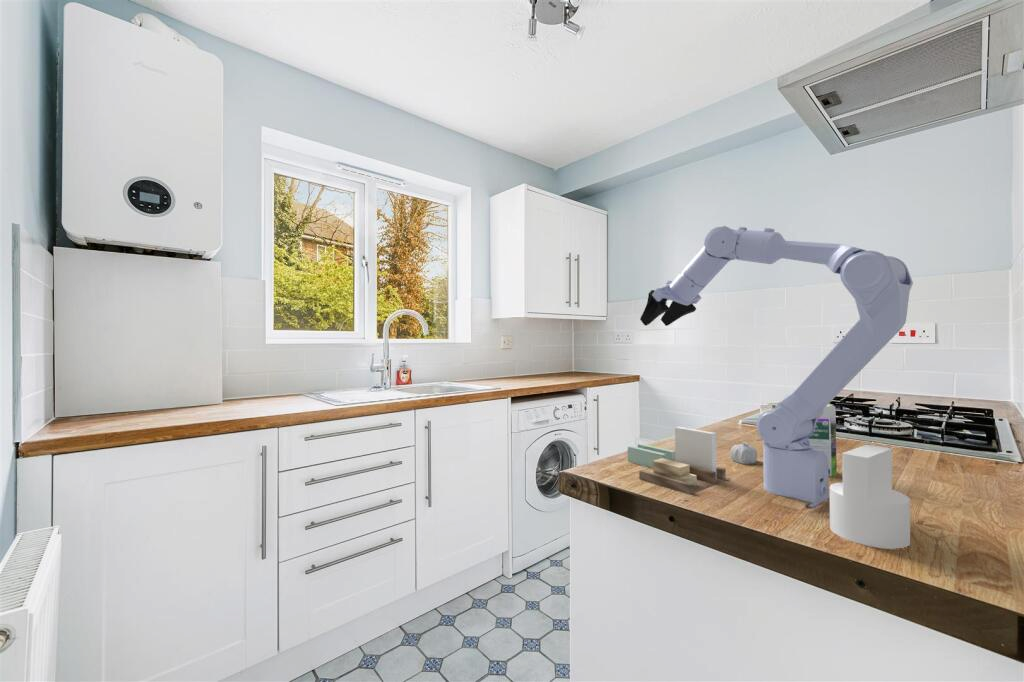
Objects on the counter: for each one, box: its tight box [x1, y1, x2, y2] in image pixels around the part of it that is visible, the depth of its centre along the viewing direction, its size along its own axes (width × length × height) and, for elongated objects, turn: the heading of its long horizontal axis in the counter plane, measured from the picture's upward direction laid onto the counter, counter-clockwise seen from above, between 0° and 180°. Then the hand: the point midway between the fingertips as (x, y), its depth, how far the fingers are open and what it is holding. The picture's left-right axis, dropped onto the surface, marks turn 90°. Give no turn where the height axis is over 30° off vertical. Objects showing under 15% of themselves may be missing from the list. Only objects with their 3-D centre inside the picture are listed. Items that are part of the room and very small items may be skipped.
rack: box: [638, 466, 732, 495], centre depth 87 cm, size 11×14×3 cm
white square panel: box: [674, 426, 717, 479], centre depth 89 cm, size 8×2×9 cm, turn 36°
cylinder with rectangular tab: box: [829, 444, 911, 550], centre depth 64 cm, size 9×9×12 cm
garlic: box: [729, 441, 758, 465], centre depth 99 cm, size 6×5×5 cm
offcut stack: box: [652, 458, 697, 486], centre depth 85 cm, size 7×4×4 cm, turn 36°
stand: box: [627, 443, 675, 469], centre depth 98 cm, size 9×5×4 cm, turn 36°
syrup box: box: [808, 403, 838, 478], centre depth 92 cm, size 6×6×14 cm
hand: (653, 322), depth 102 cm, fingers open, 7 cm apart
